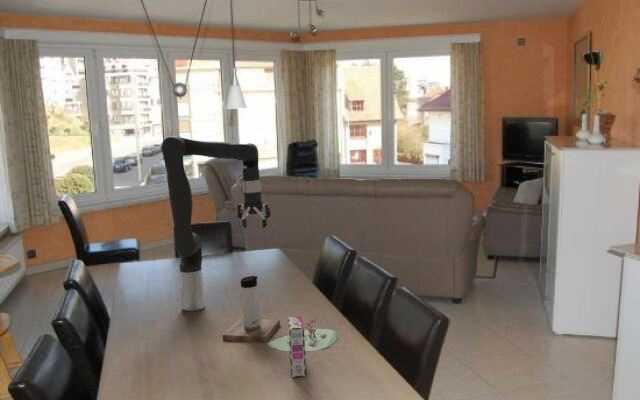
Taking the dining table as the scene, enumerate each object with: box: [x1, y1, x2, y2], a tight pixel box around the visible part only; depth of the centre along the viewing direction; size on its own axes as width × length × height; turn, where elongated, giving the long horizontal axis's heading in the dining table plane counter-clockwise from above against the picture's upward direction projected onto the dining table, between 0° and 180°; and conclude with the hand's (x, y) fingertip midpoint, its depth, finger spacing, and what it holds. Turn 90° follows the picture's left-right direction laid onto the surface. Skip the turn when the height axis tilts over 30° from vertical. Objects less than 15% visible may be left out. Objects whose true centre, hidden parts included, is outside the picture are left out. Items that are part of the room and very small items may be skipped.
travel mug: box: [240, 275, 261, 330], centre depth 225 cm, size 6×7×20 cm
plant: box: [267, 317, 338, 352], centre depth 215 cm, size 25×21×9 cm
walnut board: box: [222, 318, 281, 343], centre depth 226 cm, size 17×17×2 cm
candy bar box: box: [287, 315, 307, 379], centre depth 191 cm, size 11×5×16 cm, turn 5°
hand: (255, 227), depth 254 cm, fingers open, 8 cm apart
